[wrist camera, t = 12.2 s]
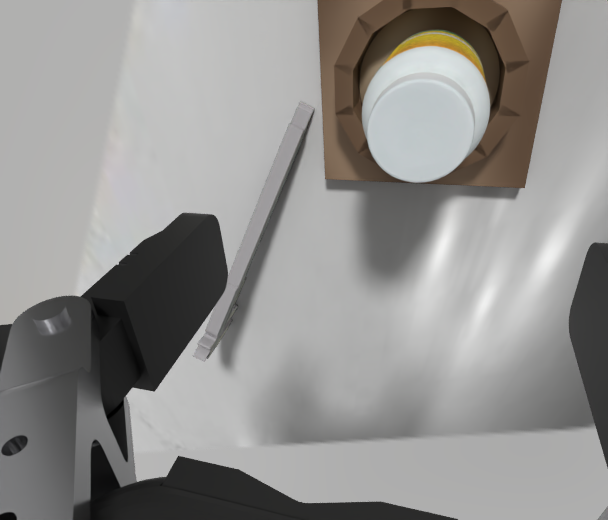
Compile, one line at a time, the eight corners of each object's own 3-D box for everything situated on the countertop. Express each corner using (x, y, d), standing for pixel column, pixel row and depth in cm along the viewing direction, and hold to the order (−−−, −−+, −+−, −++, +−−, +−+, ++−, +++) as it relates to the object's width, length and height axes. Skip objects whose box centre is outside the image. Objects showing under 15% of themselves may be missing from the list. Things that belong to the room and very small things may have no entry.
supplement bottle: (476, 131, 26) (484, 204, 18) (380, 130, 28) (350, 198, 20) (490, 24, 23) (505, 57, 16) (382, 29, 25) (346, 62, 17)
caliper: (233, 321, 42) (201, 373, 37) (222, 316, 42) (188, 367, 37) (316, 106, 29) (285, 138, 24) (300, 99, 29) (266, 129, 24)
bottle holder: (569, -59, 22) (583, -61, 19) (522, 181, 28) (528, 202, 26) (320, -39, 25) (305, -39, 23) (328, 173, 31) (317, 191, 29)
